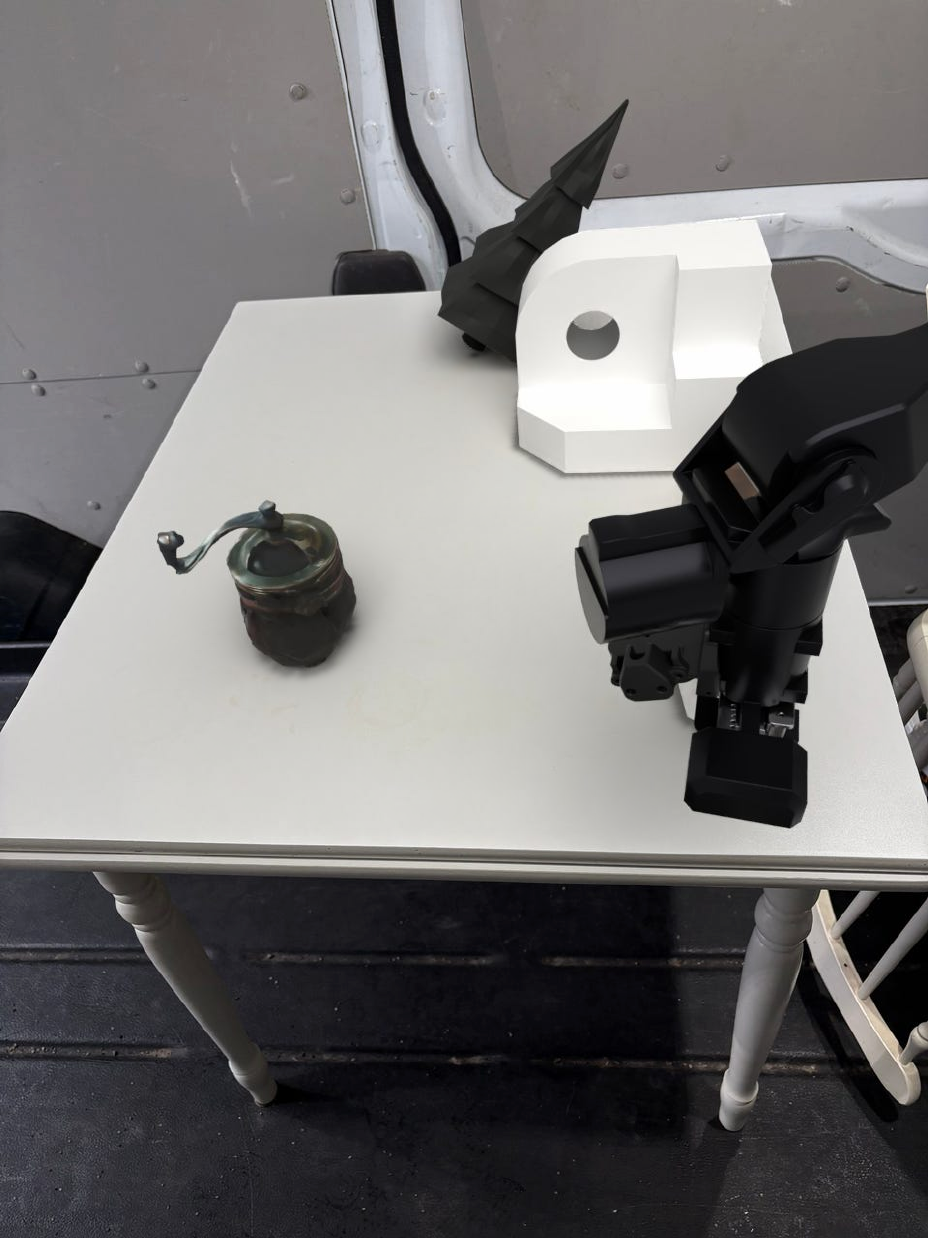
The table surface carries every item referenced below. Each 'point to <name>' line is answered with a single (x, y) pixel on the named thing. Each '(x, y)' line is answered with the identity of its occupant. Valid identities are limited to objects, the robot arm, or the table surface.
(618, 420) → the stepped bracket block
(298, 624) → the coffee grinder
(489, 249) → the decorative tree
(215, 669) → the table surface
